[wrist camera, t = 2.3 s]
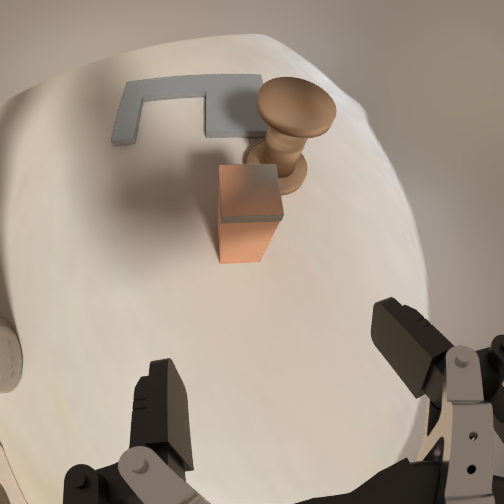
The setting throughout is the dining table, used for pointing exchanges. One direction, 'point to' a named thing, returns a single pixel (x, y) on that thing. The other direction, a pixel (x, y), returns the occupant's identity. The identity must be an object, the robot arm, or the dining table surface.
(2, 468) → the gable box
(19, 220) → the dining table surface
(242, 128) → the notched board
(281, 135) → the bobbin
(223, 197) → the orange tall block
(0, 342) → the robot arm
